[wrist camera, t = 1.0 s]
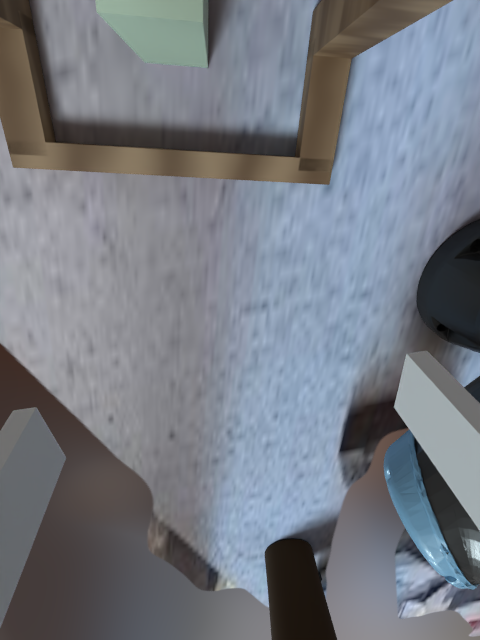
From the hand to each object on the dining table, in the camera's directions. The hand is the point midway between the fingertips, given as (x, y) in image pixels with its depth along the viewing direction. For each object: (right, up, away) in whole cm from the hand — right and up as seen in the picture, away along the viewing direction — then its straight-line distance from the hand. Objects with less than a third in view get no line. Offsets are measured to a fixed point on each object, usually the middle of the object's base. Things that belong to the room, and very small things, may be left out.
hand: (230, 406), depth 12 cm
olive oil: (+10, -43, +53) cm, 68 cm away
